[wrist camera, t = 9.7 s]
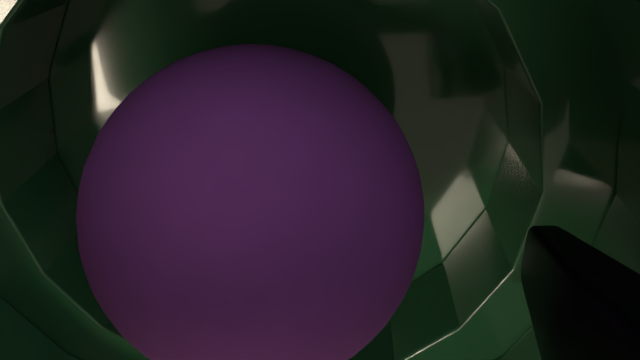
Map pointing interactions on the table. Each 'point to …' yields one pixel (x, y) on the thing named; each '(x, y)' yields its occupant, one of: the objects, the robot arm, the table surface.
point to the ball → (250, 210)
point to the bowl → (403, 104)
